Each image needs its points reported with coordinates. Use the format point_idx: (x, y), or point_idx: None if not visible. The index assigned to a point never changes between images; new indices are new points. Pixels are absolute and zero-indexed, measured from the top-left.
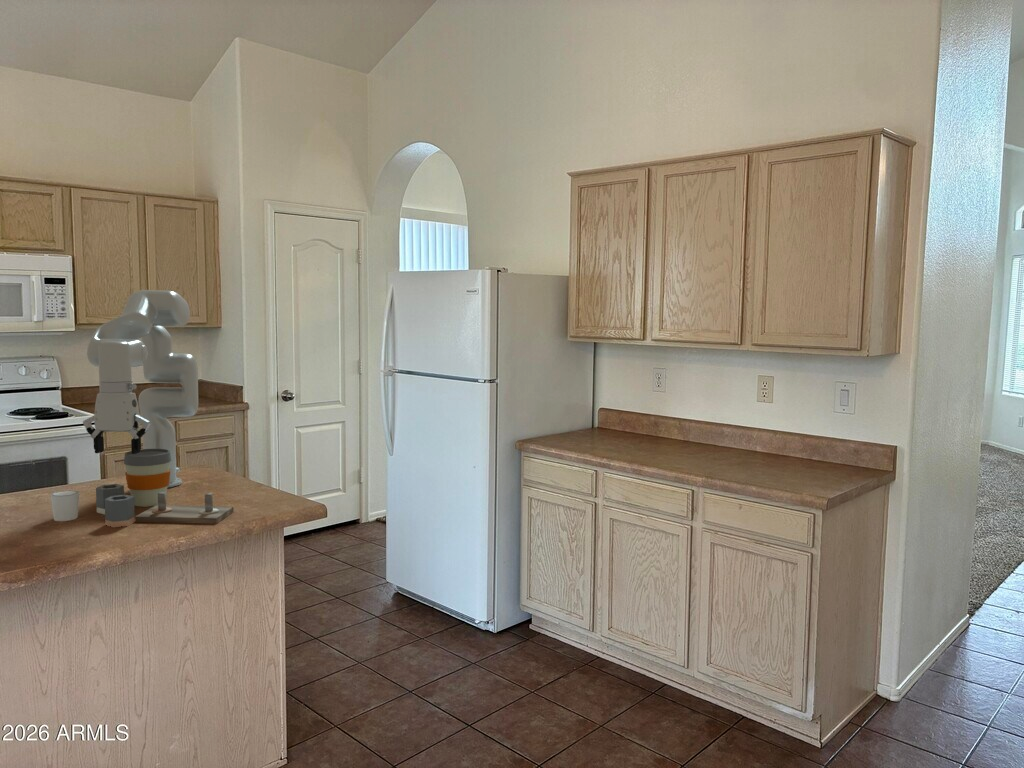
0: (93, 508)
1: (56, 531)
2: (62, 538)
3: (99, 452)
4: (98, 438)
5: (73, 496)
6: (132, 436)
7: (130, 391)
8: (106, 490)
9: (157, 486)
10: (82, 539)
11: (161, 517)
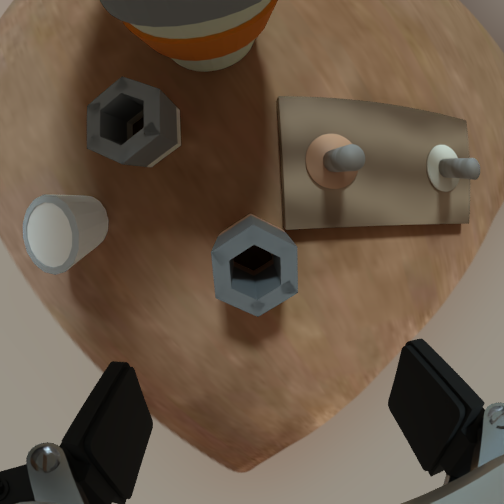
0: None
1: (143, 326)
2: (194, 368)
3: (147, 408)
4: (119, 491)
5: (81, 247)
6: (444, 484)
7: None
8: (132, 158)
9: (259, 33)
10: (240, 370)
11: (359, 225)
